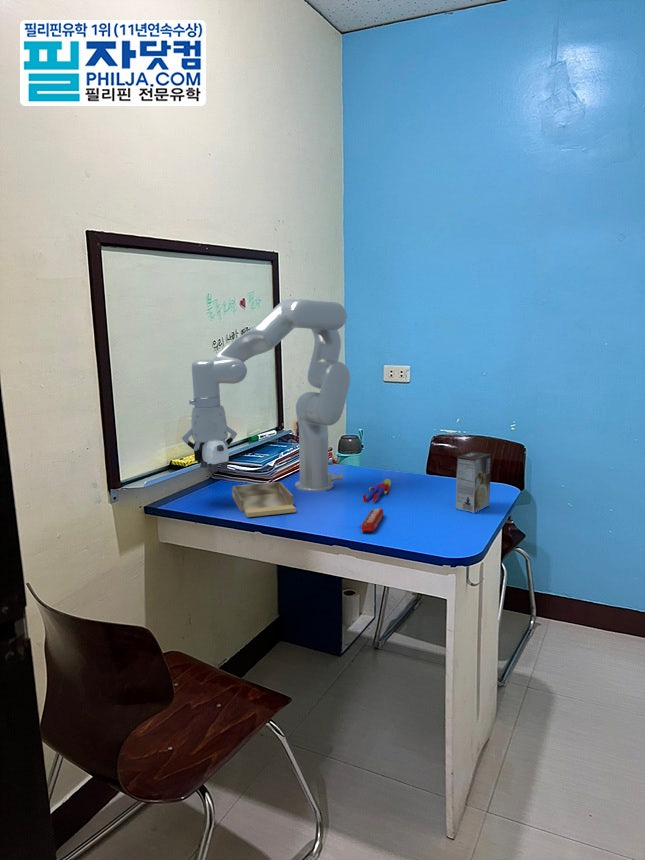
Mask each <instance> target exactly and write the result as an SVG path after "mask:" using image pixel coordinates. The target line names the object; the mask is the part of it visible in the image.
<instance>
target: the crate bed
mask: <svg viewBox="0 0 645 860" xmlns="http://www.w3.org/2000/svg"><path fill="white" fill-rule="evenodd" d="M231 497H232V499H233V501H234V503H235V504H236V506H237V508H238V509H239V511H240V513H245V509H255V508H264V507H274V506H284V505H293V506H294V495H293V493H292V492H291V491H290V490H289V488H288V487H286V486H285V484H283V483H282V482H281V481H273V482H264V483H262V482H261V483H253V484H242V485H232V486H231Z"/></svg>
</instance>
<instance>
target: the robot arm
mask: <svg viewBox="0 0 645 860" xmlns="http://www.w3.org/2000/svg"><path fill="white" fill-rule="evenodd" d="M347 313H348V312H347V311H346V308H345V307H344V306H343V305H342V304H341V303H339V302H334V301H325V300H324V301H322V300H320V301H319V300H313V299H312V300H310V299H302V298H297V299H296V298H295V299H294V298H293V299H291V298H290V299H285V300H282V301H281V302H279V303H278V304H277V305H276V306H274V308H273V309H272V310H271V311H270V312H268V313H267V314H266V315H265V316H264V317H263V318H262V319H261V320H260V321H259V322H258V323H257V324H256V325H255V326H254V327H252V328H251V329H249V330H247V331H246V332H244V333H243V334H241V335H240V336H239V337H237V338H235V339H234V340H233V341H231V342H230V343H228V344H227V345H226V346H225V347H223V348H222V350H220V351H219V352H218V353H217V354H216V355H215V356H214V357H213V358H212V359H199V360H195V361H193V362H192V363H191V376H192V390H193V398H191V399H189V400H188V404H189V405H192V406H193V407H192V408H191V409H192V410H191V427H190V429H189V430H188V431H187V432H185V434H184V435H182V437H181V439H182V442H184V443H185V444H186V445H187V446H188V447H190V448H191V449H192V450H193V455H194V456H193V457H194V461H195V462H196V463H197V464H198V465H201V462H200V451H199V448H198V447H199V445H200V443H201V442H208V441H213V440H221V441H223V442H224V444H225V445H226V447H227V448H229V446H230V445H231V444H232V443H233V441H234V440H235V439H236V437H237V435H238V433H237V432H236V431H235V430H233V429H232V428H231V427H229V425H228V423H227V416H226V411H225V407H224V406H223V405H221V393H220V392H221V391H220V390H221V389H220V384H227V385H229V384H231V385H234V384H240V382H242V381H243V380H245V378H246V377H247V373H248V369H247V366H246V364H245V362H246V361H248V360H249V359H251V358H253V357H255V356H258V355H261V354H264V353H268V352H269V351H271V350H273V349H274V348H275V347H276V346H277V345H278V344H279V343H280V342H281V341H282V340H283V339H285V337H286V336H287V335H289V334H290V333H291V331H292V330H294V329H296V328H297V329H310V331H312V334H313V338H314V345H313V350H312V354H311V359H310V362H309V366H308V367H309V368H308V370H307V371H308V372H307V381H308V384H309V385H311V386H312V387H313V388H315V389H319V390H320V392H316V391H306V392H304V393H302V394H301V395H300V396H299V397H298V398H297V401H296V404H295V412H296V419H297V425H298V426H297V427H298V452H299V453H298V455H299V457H298V458H299V460H298V461H299V464H298V465H299V480H298V481H296V482H295V484H294V485H295V486H294V488H295V489H297V490H299V491H304V492H323V491H325V492H327V491H329V490H332V489H333V488H334V481H343V479H344V477H343V474H337V473H330V472H329V429H327V426H328V427H330V426H334V425H335V424H336V423H338V421H339V420H340V418H341V417H342V415H343V411H344V408H345V404H346V400H347V395H348V392H349V387H350V383H351V374H350V371H349V368H348V367H347V365H346V364H345V363H343V362H342V361H339V359H340V354H341V347H342V341H341V340H342V339H341V336H340V333H339V332H340V331H338V330H340V329H341V328H343V326H345V324H346V322H347V318H348V315H347ZM229 434H230V436H229ZM228 436H229V437H228ZM190 437H192V440H193V441H194V442H192V441H191V440H190V439H189V438H190Z"/></svg>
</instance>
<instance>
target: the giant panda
mask: <svg viewBox="0 0 645 860" xmlns="http://www.w3.org/2000/svg"><path fill="white" fill-rule="evenodd" d="M198 448H199V451H200V465H199V467H200V468H202V469H206V468H208V464H209V465H210V466H211V467H210V468H211V469H210V471H211V472H215V473H216V472H218V471H219V469H220V470H228V463H229V457H230V455H229V450H228V448H229V447H228V448H227V447H226V445H225V444H224V442H223V441H221V440H213V441H208V442H201V443H200V445H199V447H198ZM219 464H220V467H219Z"/></svg>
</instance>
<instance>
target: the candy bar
mask: <svg viewBox="0 0 645 860" xmlns="http://www.w3.org/2000/svg"><path fill="white" fill-rule="evenodd" d="M383 517H384V509H383V508H380V507H379V508H374V509H371V510H370V512H369V513H368V515H366V517H365V519H364V520H363V521H362V524H361V526H360V527H361V532H362V533H371V532H374V531H375V530H376V529H377V527H378V525H379V524H380V522H381V521H382V518H383Z"/></svg>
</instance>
